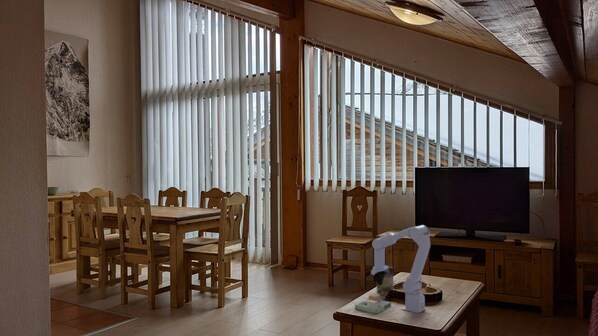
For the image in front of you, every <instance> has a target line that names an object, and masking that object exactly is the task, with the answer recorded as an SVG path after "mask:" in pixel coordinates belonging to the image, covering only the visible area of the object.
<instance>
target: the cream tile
mask: <svg viewBox="0 0 598 336" xmlns="http://www.w3.org/2000/svg"><path fill="white" fill-rule="evenodd" d="M368 300H369V299H368ZM368 300H366V301H367V307H370V308H375V309H376V308H378V301H374V300H369V301H368Z"/></svg>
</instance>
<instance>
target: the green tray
mask: <svg viewBox="0 0 598 336" xmlns="http://www.w3.org/2000/svg"><path fill="white" fill-rule="evenodd" d="M364 302H365V300H362V301H360V302H358V303H355V304H354V309H355V310H357V311H361V312H366V313H369V314H374V315H377V313H378V314H380V313H381V311H382V312H384V311H385V309H384V305H383V306H381V307H379V308H376V309H375V308H370V307H367V305H364ZM379 312H380V313H379Z"/></svg>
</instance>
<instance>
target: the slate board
mask: <svg viewBox="0 0 598 336" xmlns="http://www.w3.org/2000/svg"><path fill="white" fill-rule="evenodd" d="M367 301H369V299H368V300H366V301H364V305H367ZM383 305H384V310H387V309H388V308H390V307H392V302H390V301H386V300H382V299H380V301H378V308H379V307H381V306H383Z"/></svg>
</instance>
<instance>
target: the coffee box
mask: <svg viewBox="0 0 598 336" xmlns="http://www.w3.org/2000/svg"><path fill="white" fill-rule="evenodd" d="M387 266H388V270H384V272H386V274H385V276H384V279H383V283H382V285H381V286H380V285H377V284H376V294H378V295H380V297H388V296H387V295H388V292H389V291H390V290H393V291H394V267H393V266H392V265H387Z"/></svg>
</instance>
